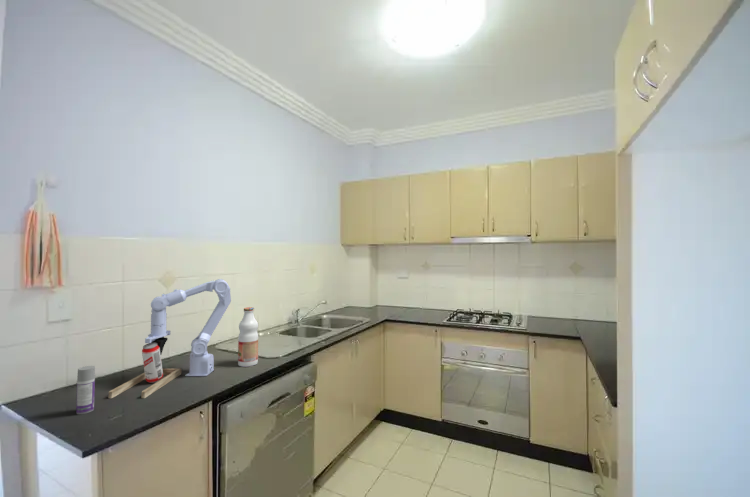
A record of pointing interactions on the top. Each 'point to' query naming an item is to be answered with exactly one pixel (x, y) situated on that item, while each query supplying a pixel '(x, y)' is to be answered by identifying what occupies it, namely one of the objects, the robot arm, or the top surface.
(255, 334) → the fruit juice
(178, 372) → the u rest
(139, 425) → the top surface
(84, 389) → the container
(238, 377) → the top surface
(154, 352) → the beer can
